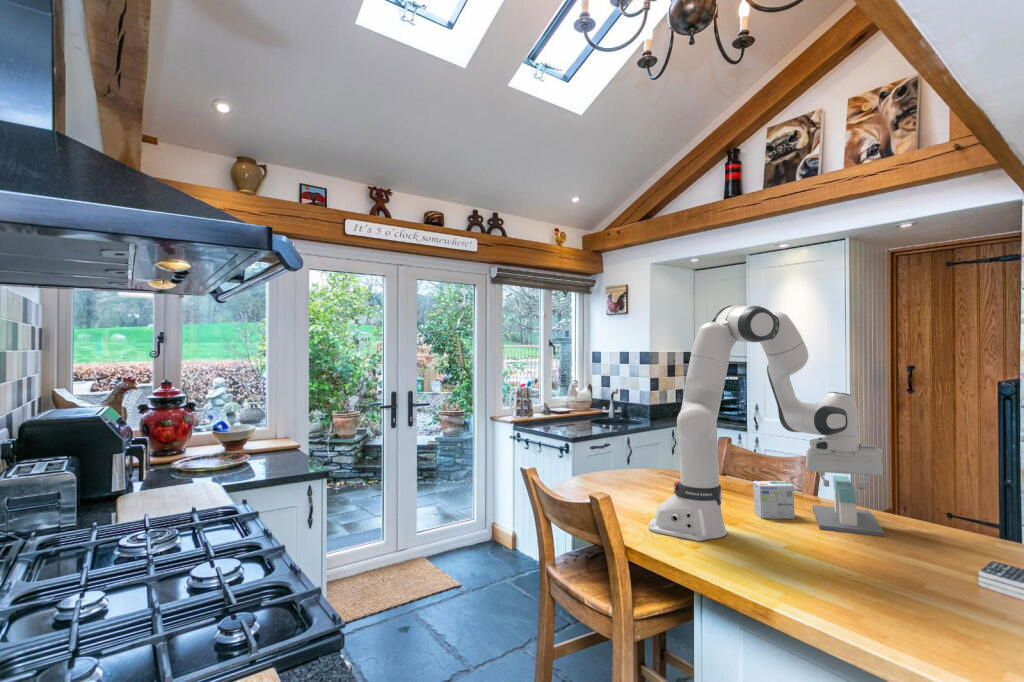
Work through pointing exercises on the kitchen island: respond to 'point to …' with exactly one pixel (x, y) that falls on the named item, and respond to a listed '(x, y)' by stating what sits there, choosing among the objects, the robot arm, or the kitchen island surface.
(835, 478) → the beam
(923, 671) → the kitchen island surface
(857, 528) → the board
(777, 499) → the light bulb box
